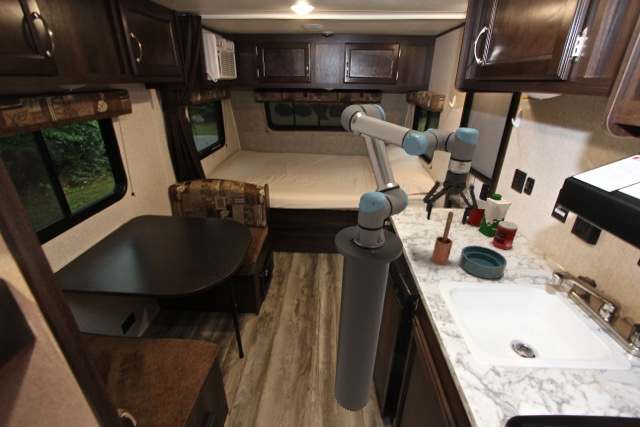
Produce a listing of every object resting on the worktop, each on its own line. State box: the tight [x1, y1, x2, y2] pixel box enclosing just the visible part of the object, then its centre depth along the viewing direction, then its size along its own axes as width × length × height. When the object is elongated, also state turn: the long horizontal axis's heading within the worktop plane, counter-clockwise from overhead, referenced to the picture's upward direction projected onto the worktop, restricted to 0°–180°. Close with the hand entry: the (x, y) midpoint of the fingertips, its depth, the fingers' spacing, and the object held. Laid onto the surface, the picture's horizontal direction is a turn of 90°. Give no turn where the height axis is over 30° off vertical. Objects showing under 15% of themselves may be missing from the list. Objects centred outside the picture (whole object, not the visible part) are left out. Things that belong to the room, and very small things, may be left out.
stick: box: [442, 211, 454, 244], centre depth 120 cm, size 3×3×22 cm
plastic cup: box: [467, 198, 487, 226], centre depth 156 cm, size 11×11×12 cm
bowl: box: [458, 245, 508, 279], centre depth 120 cm, size 16×16×6 cm
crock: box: [431, 236, 454, 266], centre depth 123 cm, size 6×6×10 cm
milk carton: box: [478, 193, 512, 237], centre depth 145 cm, size 9×9×20 cm
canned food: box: [492, 220, 519, 250], centre depth 136 cm, size 8×8×11 cm
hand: (445, 220), depth 119 cm, fingers open, 13 cm apart
